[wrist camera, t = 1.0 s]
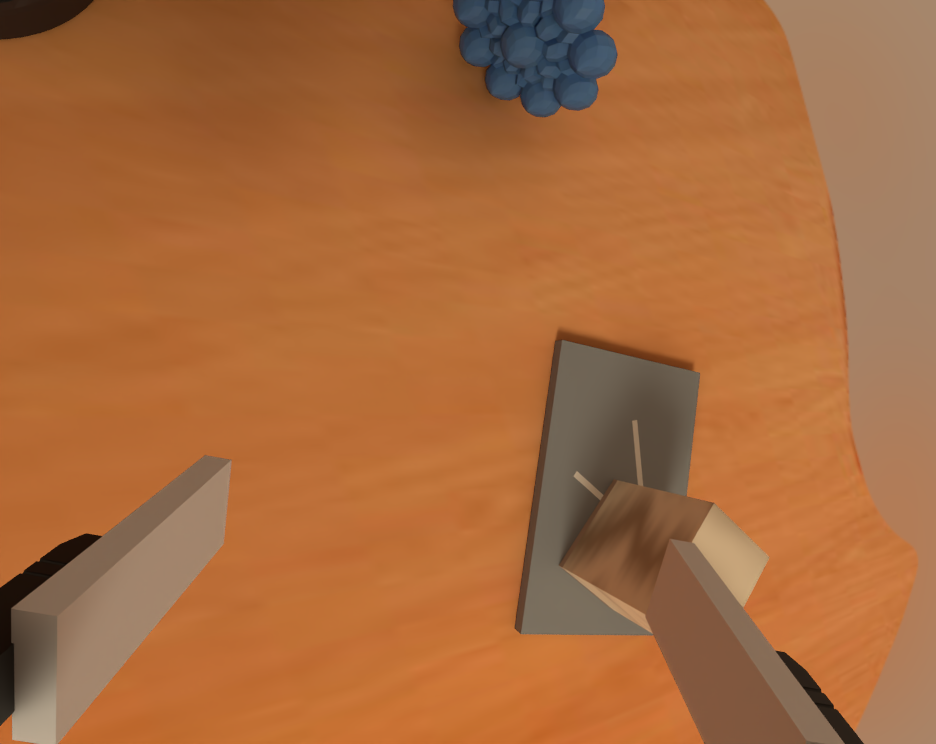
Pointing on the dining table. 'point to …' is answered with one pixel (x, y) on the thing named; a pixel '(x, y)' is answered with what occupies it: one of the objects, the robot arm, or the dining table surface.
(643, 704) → the dining table surface
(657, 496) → the block
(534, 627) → the board
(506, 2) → the grapes
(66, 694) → the robot arm
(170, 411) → the dining table surface
